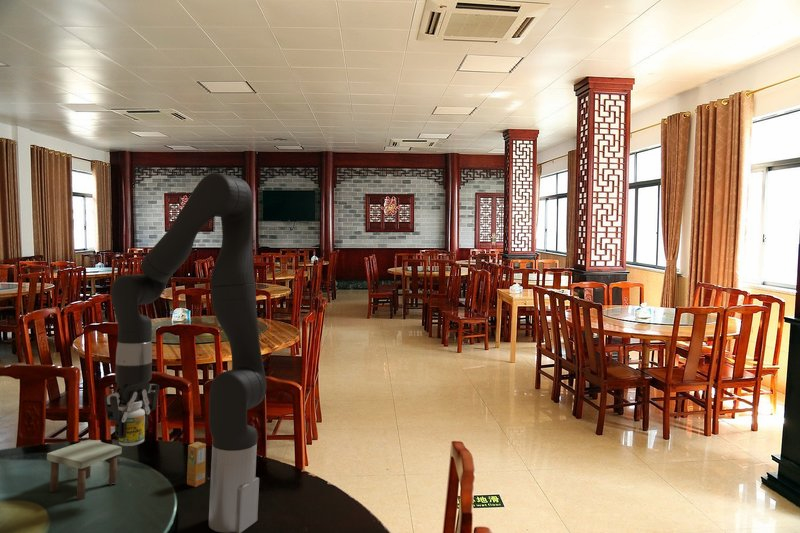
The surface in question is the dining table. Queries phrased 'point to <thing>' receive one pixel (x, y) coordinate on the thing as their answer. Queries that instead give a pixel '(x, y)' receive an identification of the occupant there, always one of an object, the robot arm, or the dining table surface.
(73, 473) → the dining table surface
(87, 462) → the stool
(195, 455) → the supplement box
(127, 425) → the supplement bottle
